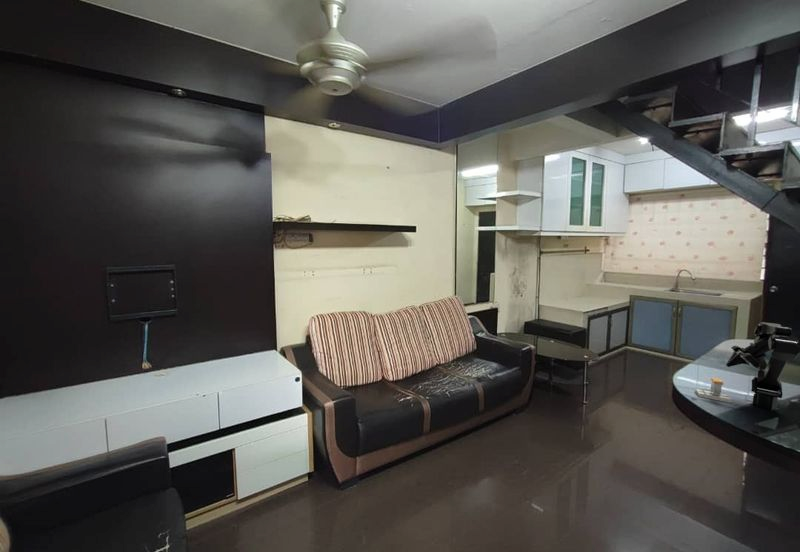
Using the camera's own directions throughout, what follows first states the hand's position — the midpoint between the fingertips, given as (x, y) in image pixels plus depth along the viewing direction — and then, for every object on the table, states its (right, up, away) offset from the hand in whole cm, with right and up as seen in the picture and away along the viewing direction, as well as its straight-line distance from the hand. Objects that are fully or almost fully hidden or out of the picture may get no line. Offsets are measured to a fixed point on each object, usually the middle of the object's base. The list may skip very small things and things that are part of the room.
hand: (726, 365), depth 167 cm
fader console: (-10, -14, -4) cm, 17 cm away
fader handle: (-10, -12, -4) cm, 16 cm away
